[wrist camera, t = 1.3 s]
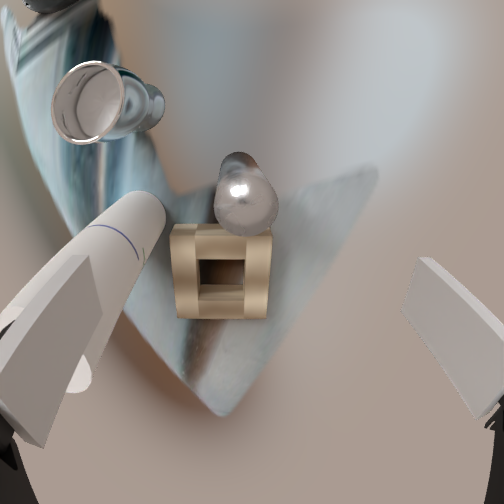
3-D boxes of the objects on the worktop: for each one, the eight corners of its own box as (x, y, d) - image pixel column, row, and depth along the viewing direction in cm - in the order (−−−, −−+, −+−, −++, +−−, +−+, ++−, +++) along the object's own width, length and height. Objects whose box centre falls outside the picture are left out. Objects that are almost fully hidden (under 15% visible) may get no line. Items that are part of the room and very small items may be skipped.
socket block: (174, 223, 36) (169, 235, 33) (268, 224, 37) (272, 236, 34) (181, 301, 41) (177, 318, 38) (262, 301, 42) (265, 318, 39)
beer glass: (106, 124, 30) (37, 132, 16) (130, 73, 28) (70, 49, 14) (153, 143, 32) (104, 160, 18) (179, 92, 29) (143, 72, 16)
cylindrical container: (154, 182, 34) (43, 294, 11) (174, 233, 37) (113, 390, 14) (107, 201, 34) (-17, 316, 12) (127, 248, 37) (43, 393, 15)
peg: (220, 151, 33) (214, 174, 19) (257, 152, 33) (280, 176, 19) (220, 186, 35) (213, 236, 20) (256, 187, 35) (276, 237, 21)
